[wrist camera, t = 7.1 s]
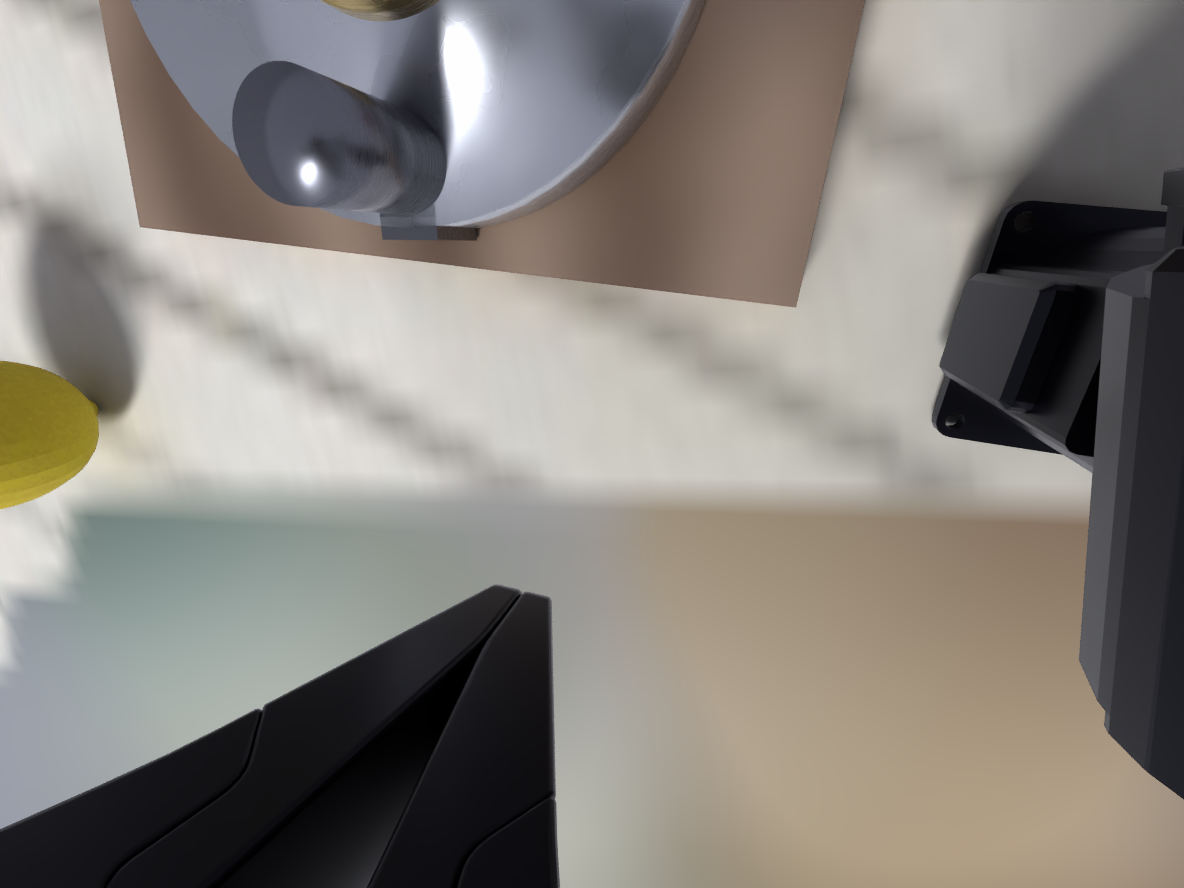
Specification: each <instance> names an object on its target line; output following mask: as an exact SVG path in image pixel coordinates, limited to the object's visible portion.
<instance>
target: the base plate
mask: <svg viewBox="0 0 1184 888" xmlns="http://www.w3.org/2000/svg"><path fill="white" fill-rule="evenodd" d="M99 3H100V9H101V14H102V20H103V25H104V31H105V36H106V42H107V47H108V53H109V58H110V64H111V70H112V75H113V81H114V86H115V92H116V97H117V103H118V108H119V114H120V119H121V125H122V130H123V136H124V141H125V147H126V153H127V158H128V164H129V169H130V175H131V180H132V186H133V191H134V197H135V202H136V208H137V213H138V219H139V224H140V227H144V228H152V229H160V230H169V231H177V232H185V233H193V234H201V235H209V236H218V237H226V238H234V239H242V240H250V241H258V242H267V243H275V244H283V245H291V246H299V247H307V248H316V249H324V250H332V251H340V252H348V253H356V254H365V255H373V256H381V257H389V258H397V259H405V260H414V261H422V262H430V263H438V264H446V265H454V266H463V267H471V268H479V269H487V270H495V271H503V272H511V273H520V274H528V275H536V276H544V277H552V278H560V279H569V280H577V281H585V282H593V283H601V284H609V285H618V286H626V287H634V288H642V289H650V290H658V291H667V292H675V293H683V294H691V295H699V296H707V297H716V298H724V299H732V300H740V301H748V302H756V303H765V304H773V305H781V306H789V307H796V305H797V301H798V296H799V292H800V287H801V283H802V278H803V274H804V269H805V265H806V261H807V256H808V252H809V247H810V243H811V238H812V234H813V230H814V225H815V221H816V216H817V212H818V207H819V203H820V198H821V194H822V190H823V185H824V181H825V176H826V172H827V167H828V163H829V158H830V154H831V150H832V145H833V141H834V136H835V132H836V127H837V123H838V119H839V114H840V110H841V105H842V101H843V96H844V92H845V87H846V83H847V79H848V74H849V70H850V65H851V61H852V56H853V52H854V47H855V43H856V39H857V34H858V30H859V25H860V21H861V16H862V12H863V8H864V3H865V0H705V3H704V6H703V9H702V12H701V15H700V18H699V20H698V23H697V26H696V29H695V32H694V34H693V36H692V38H691V41H690V43H689V45H688V47H687V49H686V51H685V53H684V56H683V58H682V60H681V62H680V64H679V66H678V69H677V71H676V73H675V75H674V76H673V78H672V80H671V81H670V83H669V85H668V86H667V88H666V89H665V91H664V93H663V94H662V96H661V98H660V99H659V101H658V103H657V104H656V106H655V108H654V109H653V111H652V112H651V113H650V115H649V116H648V117H647V119H646V120H645V121H644V122H643V124H642V125H641V126H640V128H639V129H638V130H637V131H636V133H635V134H634V135H633V137H632V138H631V139H630V140H629V142H628V143H627V144H626V145H625V146H624V147H623V148H622V149H621V150H620V151H619V152H618V153H617V154H616V155H615V156H614V157H613V158H612V159H611V160H610V161H609V162H608V163H607V164H606V165H605V166H604V167H603V168H602V169H601V170H600V171H599V172H597V173H596V174H595V175H593V176H592V177H591V178H590V179H588V180H587V181H586V182H584V183H583V184H582V185H580V186H579V187H578V188H577V189H575V190H574V191H573V192H571V193H569V194H568V195H566V196H564V197H562V198H561V199H559V200H557V201H555V202H554V203H552V204H550V205H548V206H547V207H545V208H543V209H541V210H538V211H536V212H533V213H531V214H528V215H526V216H523V217H520V218H518V219H515V220H513V221H509V222H504V223H500V224H496V225H491V226H487V227H483V228H476V230H477V241H465V240H382V231H381V226H379V225H372V224H368V223H363V222H359V221H355V220H351V219H346V218H342V217H339V216H337V215H334V214H332V213H329V212H326V211H324V210H321V209H319V208H313V207H301V206H291V205H287V204H283V203H281V202H278V201H276V200H275V199H273V198H271V197H270V196H268V195H267V194H266V193H264V192H263V191H262V190H261V189H260V188H259V187H258V186H257V185H256V184H255V183H254V182H253V180H252V179H251V178H250V176H249V175H248V173H247V172H246V170H245V168H244V166H243V164H242V162H241V160H240V158H239V157H238V156H237V155H236V154H235V153H234V152H233V151H232V150H231V149H230V148H229V147H228V146H227V145H225V144H224V143H223V142H222V141H221V140H220V139H219V138H218V137H217V135H216V134H215V133H214V132H213V131H212V130H211V129H210V127H209V126H208V125H207V124H206V123H205V122H204V120H203V119H202V118H201V117H200V116H199V115H198V114H197V112H196V111H195V110H194V109H193V108H192V106H191V105H190V103H189V102H188V101H187V99H186V98H185V96H184V95H183V94H182V92H181V91H180V89H179V88H178V86H177V85H176V84H175V82H174V81H173V79H172V78H171V77H170V75H169V74H168V72H167V70H166V69H165V67H164V65H163V63H162V62H161V60H160V58H159V56H158V55H157V53H156V51H155V49H154V48H153V46H152V44H151V42H150V41H149V39H148V37H147V36H146V34H145V31H144V29H143V27H142V25H141V23H140V21H139V18H138V16H137V14H136V12H135V10H134V8H133V5H132V3H131V1H130V0H99Z"/></svg>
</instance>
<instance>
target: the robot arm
mask: <svg viewBox="0 0 1184 888" xmlns="http://www.w3.org/2000/svg"><path fill="white" fill-rule="evenodd" d="M1161 205H1168V209H1167V212H1160V211H1148V210H1136V209H1125V208H1113V207H1101V206H1089V205H1077V204H1066V203H1054V202H1042V201H1025V202H1017V203H1014V204H1012V205H1010V206H1008V207H1007V208H1006V209H1005V210H1004V211H1003V212H1002V213H1001V214H1000V216H999V218H998V220H997V222H996V225H995V228H994V231H993V234H992V237H991V240H990V243H989V246H988V249H987V252H986V255H985V258H984V261H983V264H982V267H981V270H980V273H978V274H976V275H975V276H973V277H972V278H970V279H969V280H968V281H967V282H966V285H965V288H964V291H963V294H962V297H961V300H960V303H959V306H958V309H957V312H956V316H955V319H954V322H953V325H952V328H951V331H950V334H949V337H948V340H947V343H946V346H945V349H944V352H943V355H942V358H941V361H940V368H941V369H942V371H943V372H944V374H945V378H944V381H943V384H942V387H941V390H940V393H939V396H938V399H937V402H936V405H935V408H934V411H933V414H932V423H933V426H934V427H935V428H936V429H937V430H938V431H939V432H940V433H941V434H943V435H945V436H948V437H952V438H958V439H965V440H971V441H978V442H984V443H991V444H997V445H1004V446H1010V447H1017V448H1023V449H1030V450H1036V451H1043V452H1049V453H1056V454H1062V455H1064V456H1066V457H1068V458H1069V459H1071V460H1072V461H1074V462H1076V463H1077V464H1079V465H1080V466H1082V467H1084V468H1085V469H1087V470H1088V471H1090V472H1091V473H1093V475H1092V489H1091V502H1090V516H1089V530H1088V544H1087V557H1086V571H1085V585H1084V599H1083V612H1082V626H1081V640H1080V654H1079V661H1080V663H1081V665H1082V668H1083V670H1084V672H1085V674H1086V677H1087V679H1088V681H1089V683H1090V686H1091V687H1092V690H1093V692H1094V694H1095V697H1096V699H1097V701H1098V702H1099V703H1100V705H1101V706H1102V707H1103V708H1104V710H1105V722H1104V726H1105V728H1106V730H1107V731H1108V733H1109V734H1110V735H1111V736H1112V737H1113V738H1114V739H1115V740H1116V741H1117V742H1118V743H1119V744H1120V745H1121V746H1122V747H1123V749H1125V750H1126V751H1127V752H1128V753H1129V755H1130V756H1131V757H1133V758H1134V760H1135V761H1137V763H1139V764H1140V766H1141V767H1142V768H1144V769H1145V770H1146V771H1147V772H1148V773H1149V774H1150V775H1152V776H1153V777H1155V778H1156V779H1157V780H1159V781H1160V782H1161V783H1163V784H1164V785H1165V786H1167V787H1168V788H1169V789H1171V790H1172V791H1173V792H1175V793H1176V794H1177V795H1179V796H1180V797H1181V798H1183V799H1184V168H1180V169H1175V170H1170V171H1166V172H1164V179H1163V190H1162V200H1161ZM1022 212H1024V213H1026V214H1027V215H1028V217H1029V223H1028V225H1027V226H1026V228H1025V229H1023V230H1022V231H1017V230H1016V229H1015V227H1014V220H1015V219H1016V217H1017V215H1019V214H1020V213H1022ZM953 413H959V414H960V417H959V420H958V422H957V423H955V424H953V425H948V426H947V425H946V424H945V421H946V418H947V417H948V416H949V415H951V414H953ZM551 606H552V604H551V599H550V598H549V597H547V596H544V595H539V594H535V593H531V592H524V593H523V594H522V592H521V591H520V590H518V589H514V588H510V587H506V586H502V585H493V586H491V587H489V588H487V589H485V590H483V591H481V592H479V593H477V594H475V595H474V596H472V597H470V598H468V599H466V600H464V601H462V602H460V603H458V604H457V605H454V606H452V607H451V608H449V609H447V610H445V611H443V612H441V613H439V614H437V615H435V616H433V617H431V618H430V619H428V620H426V621H424V622H422V623H420V624H418V625H416V626H414V627H412V628H410V629H408V630H407V631H405V632H403V633H401V634H399V635H397V636H395V637H393V638H391V639H389V640H387V641H386V642H384V643H382V644H380V645H378V646H376V647H374V648H372V649H370V650H368V651H366V652H365V653H363V654H361V655H359V656H357V657H355V658H353V659H351V660H349V661H347V662H346V663H343V664H342V665H340V666H338V667H336V668H334V669H332V670H330V671H328V672H326V673H324V674H322V675H321V676H319V677H317V678H315V679H313V680H311V681H309V682H307V683H305V684H303V685H301V686H300V687H298V688H296V689H294V690H292V691H290V692H288V693H286V694H284V695H282V696H280V697H279V698H277V699H275V700H273V701H271V702H269V703H267V704H265V706H264V707H263V710H260V709H255V710H254V711H251V712H249V713H248V714H246V715H244V716H242V717H240V718H238V719H236V720H234V721H232V722H230V723H228V724H226V725H225V726H223V727H221V728H219V729H217V730H215V731H213V732H211V733H209V734H207V735H205V736H203V737H201V738H199V739H197V740H195V741H193V742H191V743H189V744H187V745H185V746H183V747H181V748H179V749H177V750H175V751H173V752H171V753H169V754H167V755H164V756H162V757H160V758H158V759H156V760H154V761H151V762H149V763H147V764H145V765H143V766H140V767H138V768H136V769H134V770H132V771H130V772H127V773H126V774H123V775H121V776H119V777H117V778H114V779H112V780H110V781H108V782H106V783H103V784H101V785H99V786H97V787H95V788H92V789H90V790H88V791H86V792H84V793H81V794H79V795H77V796H74V797H72V798H70V799H67V800H65V801H63V802H61V803H58V804H56V805H54V806H52V807H49V808H47V809H45V810H43V811H40V812H38V813H36V814H34V815H31V816H29V817H27V818H24V819H22V820H20V821H18V822H15V823H13V824H11V825H9V826H7V827H4V828H2V829H0V888H560V881H559V863H558V848H557V818H556V817H557V815H556V801H555V796H556V787H555V786H556V785H555V740H554V694H553V649H552V607H551Z"/></svg>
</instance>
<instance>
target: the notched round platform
mask: <svg viewBox="0 0 1184 888" xmlns="http://www.w3.org/2000/svg"><path fill="white" fill-rule="evenodd" d="M130 1H131V3H132V5H133V8H134V10H135V12H136V14H137V16H138V18H139V21H140V23H141V25H142V27H143V29H144V31H145V34H146V36H147V37H148V39H149V41H150V42H151V44H152V46H153V48H154V49H155V51H156V53H157V55H158V56H159V58H160V60H161V62H162V63H163V65H164V67H165V69H166V70H167V72H168V74H169V75H170V77H171V78H172V79H173V81H174V82H175V84H176V85H177V86H178V88H179V89H180V91H181V92H182V94H183V95H184V96H185V98H186V99H187V101H188V102H189V103H190V105H191V106H192V108H193V109H194V110H195V111H196V112H197V114H198V115H199V116H200V117H201V118H202V119H203V120H204V122H205V123H206V124H207V125H208V126H209V127H210V129H211V130H212V131H213V132H214V133H215V134H216V135H217V137H218V138H219V139H220V140H221V141H222V142H223V143H224V144H225V145H227V146H228V147H229V148H230V149H231V150H232V151H233V152H234V153H235V154H236V155H237V156H238V157H239V158H240V160H241V162H242V164H243V166H244V168H245V170H246V172H247V173H248V175H249V176H250V178H251V179H252V180H253V182H254V183H255V184H256V185H257V186H258V187H259V188H260V189H261V190H262V191H263V192H264V193H266V194H267V195H268V196H270V197H271V198H273V199H275V200H276V201H278V202H281V203H283V204H287V205H291V206H301V207H313V208H319V209H321V210H324V211H326V212H329V213H332V214H334V215H337V216H339V217H342V218H346V219H351V220H355V221H359V222H363V223H368V224H372V225H379V226H381V231H382V240H465V241H477V230H476V228H483V227H487V226H491V225H496V224H500V223H504V222H509V221H513V220H515V219H518V218H520V217H523V216H526V215H528V214H531V213H533V212H536V211H538V210H541V209H543V208H545V207H547V206H548V205H550V204H552V203H554V202H555V201H557V200H559V199H561V198H562V197H564V196H566V195H568V194H569V193H571V192H573V191H574V190H575V189H577V188H578V187H579V186H580V185H582V184H583V183H584V182H586V181H587V180H588V179H590V178H591V177H592V176H593V175H595V174H596V173H597V172H599V171H600V170H601V169H602V168H603V167H604V166H605V165H606V164H607V163H608V162H609V161H610V160H611V159H612V158H613V157H614V156H615V155H616V154H617V153H618V152H619V151H620V150H621V149H622V148H623V147H624V146H625V145H626V144H627V143H628V142H629V140H630V139H631V138H632V137H633V135H634V134H635V133H636V131H637V130H638V129H639V128H640V126H641V125H642V124H643V122H644V121H645V120H646V119H647V117H648V116H649V115H650V113H651V112H652V111H653V109H654V108H655V106H656V104H657V103H658V101H659V99H660V98H661V96H662V94H663V93H664V91H665V89H666V88H667V86H668V85H669V83H670V81H671V80H672V78H673V76H674V75H675V73H676V71H677V69H678V66H679V64H680V62H681V60H682V58H683V56H684V53H685V51H686V49H687V47H688V45H689V43H690V41H691V38H692V36H693V34H694V32H695V29H696V26H697V23H698V20H699V18H700V15H701V12H702V9H703V6H704V3H705V0H130Z"/></svg>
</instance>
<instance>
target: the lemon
mask: <svg viewBox="0 0 1184 888" xmlns="http://www.w3.org/2000/svg"><path fill="white" fill-rule="evenodd" d="M98 413H99V410H98V407H97V405H96V404H95V403H94V402H92V401H90V400H88V399H87V398H86V397H85V396H84V395H83V394H82V393H81V391H80V390H78V389H77V388H76V387H75V386H74V385H72V384H71V383H70V382H68V381H67V380H65V379H63V378H62V377H60V376H58V375H56V374H53V373H51V372H49V371H47V370H44V369H41V368H38V367H34V366H30V365H25V364H20V363H14V362H8V361H0V509H3V508H7V507H11V506H15V505H19V504H22V503H25V502H28V501H31V500H33V499H36V498H38V497H40V496H43V495H45V494H47V493H49V492H51V491H53V490H54V489H56V488H58V487H59V486H61V485H62V484H64V483H65V482H67V481H68V480H70V479H71V478H72V477H74V476H75V475H76V474H77V473H79V472H80V471H81V470H82V469H83V468H84V467H85V465H86V464H87V463H88V461H89V460H90V458H91V456H92V455H93V453H94V451H95V449H96V446H97V442H98V437H99V428H98V420H97V416H98Z"/></svg>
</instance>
